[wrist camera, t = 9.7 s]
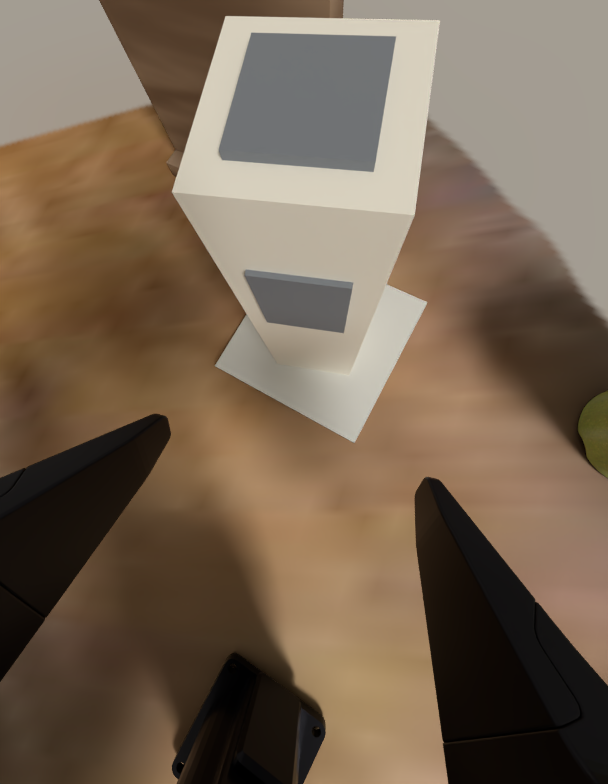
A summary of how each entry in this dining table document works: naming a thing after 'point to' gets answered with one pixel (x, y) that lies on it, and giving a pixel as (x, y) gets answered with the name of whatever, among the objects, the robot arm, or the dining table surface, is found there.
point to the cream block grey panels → (309, 172)
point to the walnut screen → (188, 48)
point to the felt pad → (325, 389)
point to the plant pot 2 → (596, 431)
